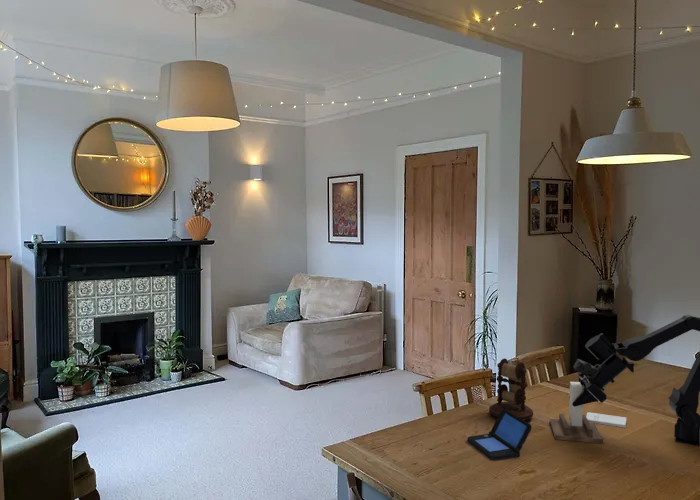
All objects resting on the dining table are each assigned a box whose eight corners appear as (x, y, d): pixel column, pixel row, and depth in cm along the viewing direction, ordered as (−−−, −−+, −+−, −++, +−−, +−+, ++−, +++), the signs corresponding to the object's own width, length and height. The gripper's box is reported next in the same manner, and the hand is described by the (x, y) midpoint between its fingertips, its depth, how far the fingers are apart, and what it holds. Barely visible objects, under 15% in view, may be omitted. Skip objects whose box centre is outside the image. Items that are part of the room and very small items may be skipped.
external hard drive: (625, 429, 187) (584, 423, 193) (626, 421, 195) (587, 415, 201) (625, 424, 187) (585, 418, 193) (626, 417, 195) (587, 411, 200)
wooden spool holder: (541, 417, 197) (542, 360, 196) (516, 428, 188) (517, 368, 187) (505, 406, 209) (506, 353, 207) (480, 416, 199) (481, 359, 198)
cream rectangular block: (579, 419, 186) (579, 382, 185) (582, 426, 180) (582, 387, 180) (569, 418, 187) (569, 381, 186) (572, 425, 181) (572, 386, 180)
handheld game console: (465, 441, 178) (465, 412, 177) (502, 436, 182) (503, 407, 181) (492, 462, 163) (493, 430, 162) (532, 455, 167) (533, 424, 166)
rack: (593, 425, 190) (594, 414, 189) (603, 443, 175) (603, 431, 175) (549, 422, 193) (549, 411, 192) (555, 439, 178) (555, 428, 178)
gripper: (584, 345, 190) (549, 375, 194) (595, 359, 172) (556, 392, 175) (609, 369, 189) (573, 400, 192) (623, 386, 171) (583, 419, 174)
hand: (571, 402), depth 184 cm, fingers closed on cream rectangular block, 6 cm apart
